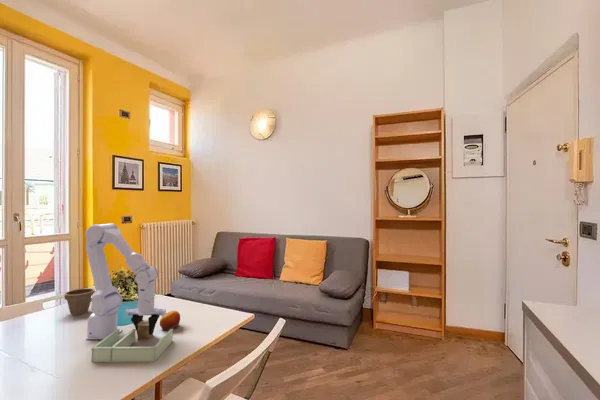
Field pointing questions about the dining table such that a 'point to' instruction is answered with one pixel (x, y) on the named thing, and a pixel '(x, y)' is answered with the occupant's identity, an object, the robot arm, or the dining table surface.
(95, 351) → the divider frame
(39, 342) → the dining table surface
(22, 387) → the dining table surface
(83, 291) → the flower pot
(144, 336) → the walnut box
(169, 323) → the fruit
